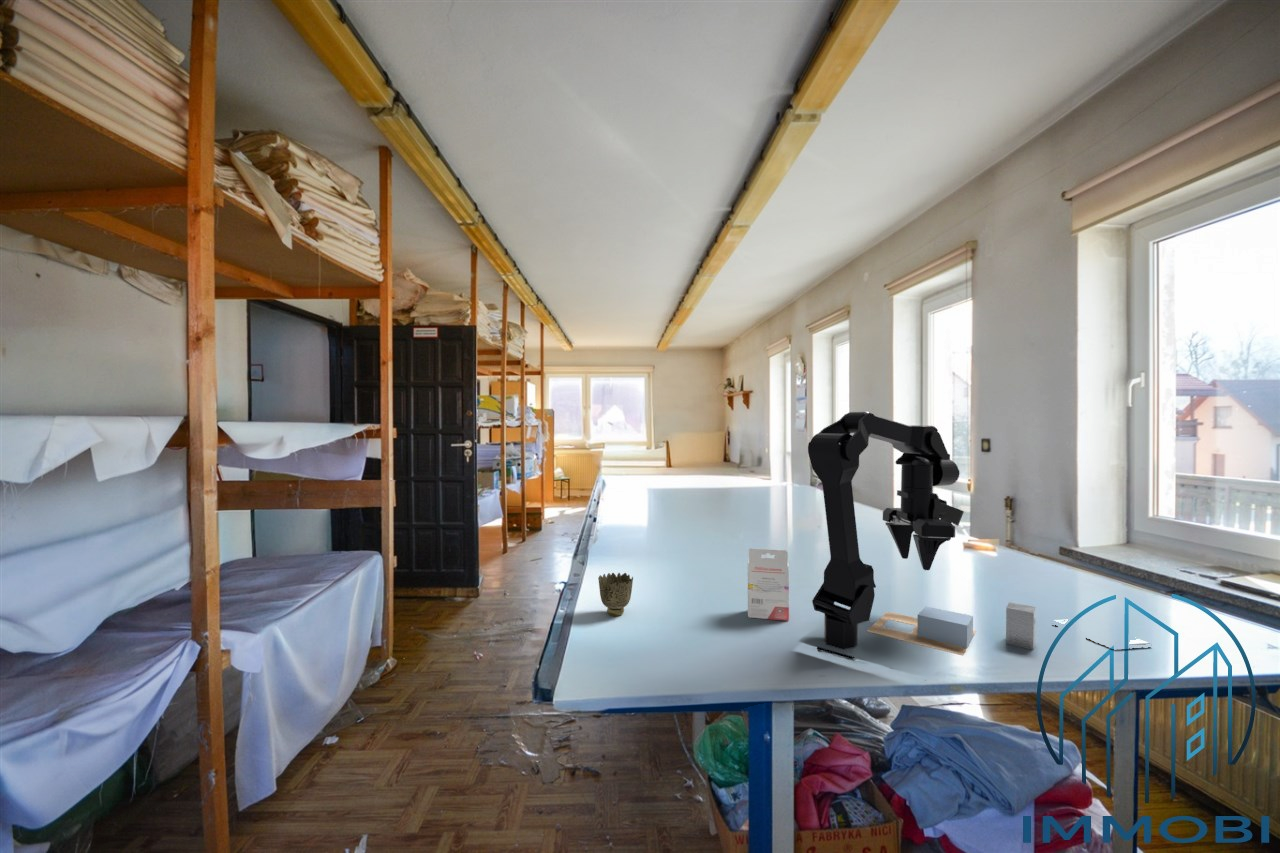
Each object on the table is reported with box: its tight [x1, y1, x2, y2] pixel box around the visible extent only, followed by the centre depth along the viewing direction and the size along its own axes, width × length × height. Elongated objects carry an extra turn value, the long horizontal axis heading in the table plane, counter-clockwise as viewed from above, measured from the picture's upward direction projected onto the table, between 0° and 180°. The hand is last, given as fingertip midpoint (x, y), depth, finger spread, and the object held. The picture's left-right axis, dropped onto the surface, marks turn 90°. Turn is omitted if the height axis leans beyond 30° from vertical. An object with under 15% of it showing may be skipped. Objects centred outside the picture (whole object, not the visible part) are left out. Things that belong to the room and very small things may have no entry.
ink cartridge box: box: [747, 547, 790, 622], centre depth 114 cm, size 9×5×15 cm, turn 76°
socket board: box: [866, 611, 977, 656], centre depth 102 cm, size 14×16×2 cm
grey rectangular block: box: [1005, 602, 1036, 651], centre depth 96 cm, size 4×4×8 cm
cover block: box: [917, 605, 974, 649], centre depth 99 cm, size 6×8×4 cm
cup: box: [598, 572, 634, 617], centre depth 114 cm, size 8×7×8 cm
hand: (915, 564), depth 108 cm, fingers open, 9 cm apart
